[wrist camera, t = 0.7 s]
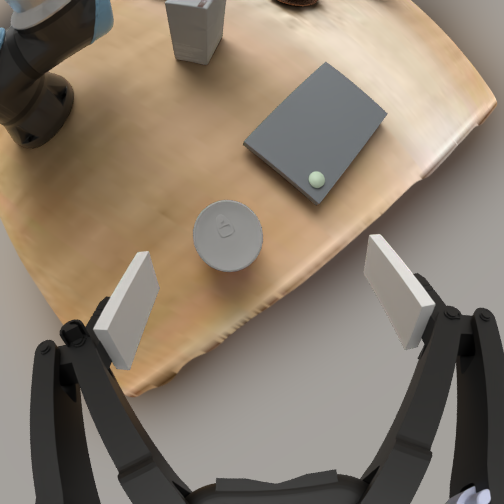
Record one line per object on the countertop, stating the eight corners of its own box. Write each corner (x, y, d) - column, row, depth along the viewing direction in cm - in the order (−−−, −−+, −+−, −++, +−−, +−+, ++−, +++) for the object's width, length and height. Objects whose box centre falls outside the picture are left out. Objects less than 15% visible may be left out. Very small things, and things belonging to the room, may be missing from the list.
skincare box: (191, 31, 39) (185, -28, 23) (227, 37, 40) (231, -23, 24) (173, 61, 39) (158, 1, 23) (210, 68, 40) (208, 6, 24)
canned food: (229, 200, 41) (230, 185, 30) (264, 241, 42) (278, 240, 31) (189, 234, 41) (177, 231, 30) (225, 275, 41) (225, 287, 30)
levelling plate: (242, 148, 41) (243, 140, 38) (320, 70, 42) (326, 60, 38) (312, 206, 42) (320, 203, 39) (379, 119, 43) (388, 112, 40)
